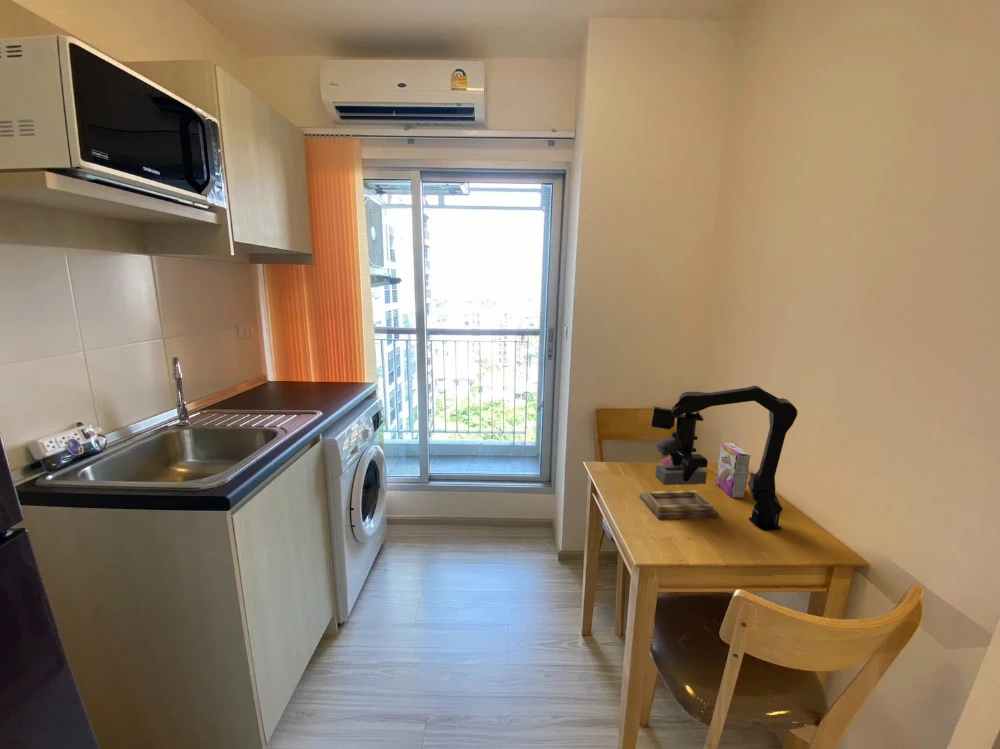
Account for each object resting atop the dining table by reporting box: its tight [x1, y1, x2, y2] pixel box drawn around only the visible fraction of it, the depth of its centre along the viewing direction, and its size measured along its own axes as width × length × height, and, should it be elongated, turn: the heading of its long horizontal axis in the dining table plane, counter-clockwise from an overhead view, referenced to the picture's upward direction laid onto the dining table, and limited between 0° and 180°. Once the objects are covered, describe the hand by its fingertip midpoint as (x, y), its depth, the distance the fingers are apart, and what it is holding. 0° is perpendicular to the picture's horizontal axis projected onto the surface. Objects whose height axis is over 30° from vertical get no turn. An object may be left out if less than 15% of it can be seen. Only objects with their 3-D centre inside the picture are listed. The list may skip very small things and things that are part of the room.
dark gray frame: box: [655, 465, 707, 486], centre depth 135 cm, size 14×6×4 cm, turn 95°
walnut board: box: [639, 490, 720, 520], centre depth 137 cm, size 20×14×3 cm
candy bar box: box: [715, 442, 751, 499], centre depth 148 cm, size 11×5×16 cm, turn 179°
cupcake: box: [659, 455, 682, 466], centre depth 161 cm, size 9×8×12 cm
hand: (680, 476), depth 135 cm, fingers closed on dark gray frame, 6 cm apart
